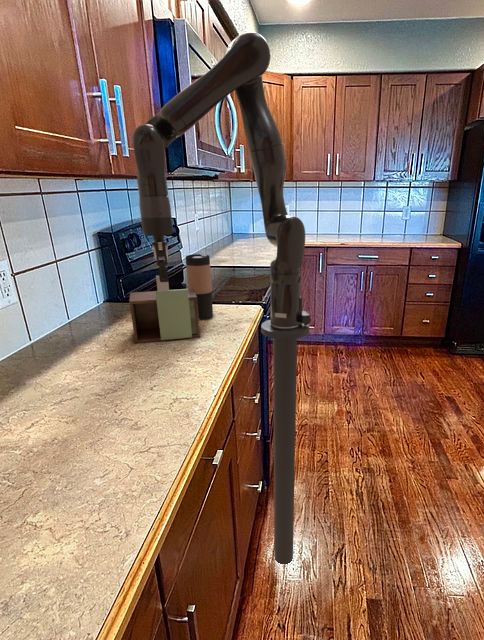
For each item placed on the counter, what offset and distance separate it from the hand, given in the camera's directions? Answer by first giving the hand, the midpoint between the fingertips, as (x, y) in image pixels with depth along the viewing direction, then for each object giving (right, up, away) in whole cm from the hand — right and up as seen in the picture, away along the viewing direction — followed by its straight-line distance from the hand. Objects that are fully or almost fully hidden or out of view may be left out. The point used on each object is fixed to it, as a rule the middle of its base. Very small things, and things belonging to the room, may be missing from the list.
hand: (163, 278), depth 113 cm
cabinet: (-2, -14, +12) cm, 19 cm away
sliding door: (+2, -16, +7) cm, 17 cm away
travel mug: (+5, -7, +28) cm, 30 cm away
